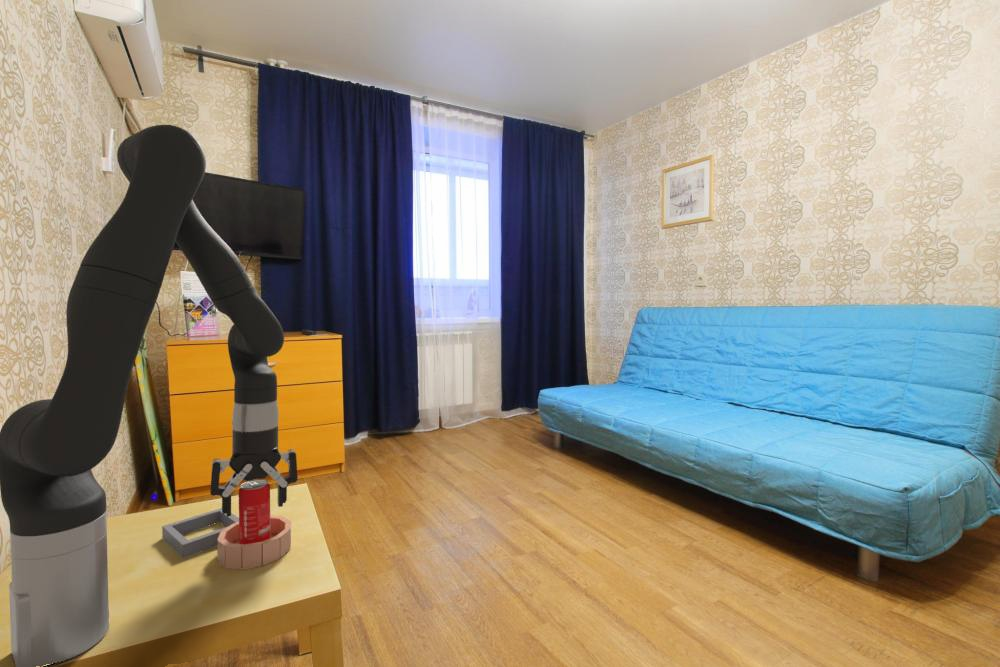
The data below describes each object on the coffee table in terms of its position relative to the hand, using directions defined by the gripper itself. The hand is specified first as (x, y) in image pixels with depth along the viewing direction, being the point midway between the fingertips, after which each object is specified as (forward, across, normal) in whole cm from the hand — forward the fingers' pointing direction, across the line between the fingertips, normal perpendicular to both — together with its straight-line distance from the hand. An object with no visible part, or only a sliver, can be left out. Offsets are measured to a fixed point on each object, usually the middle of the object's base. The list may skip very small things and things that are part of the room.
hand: (255, 509), depth 84 cm
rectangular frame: (+8, -8, +11) cm, 16 cm away
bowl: (+8, 0, 0) cm, 8 cm away
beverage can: (+7, 0, 0) cm, 7 cm away
